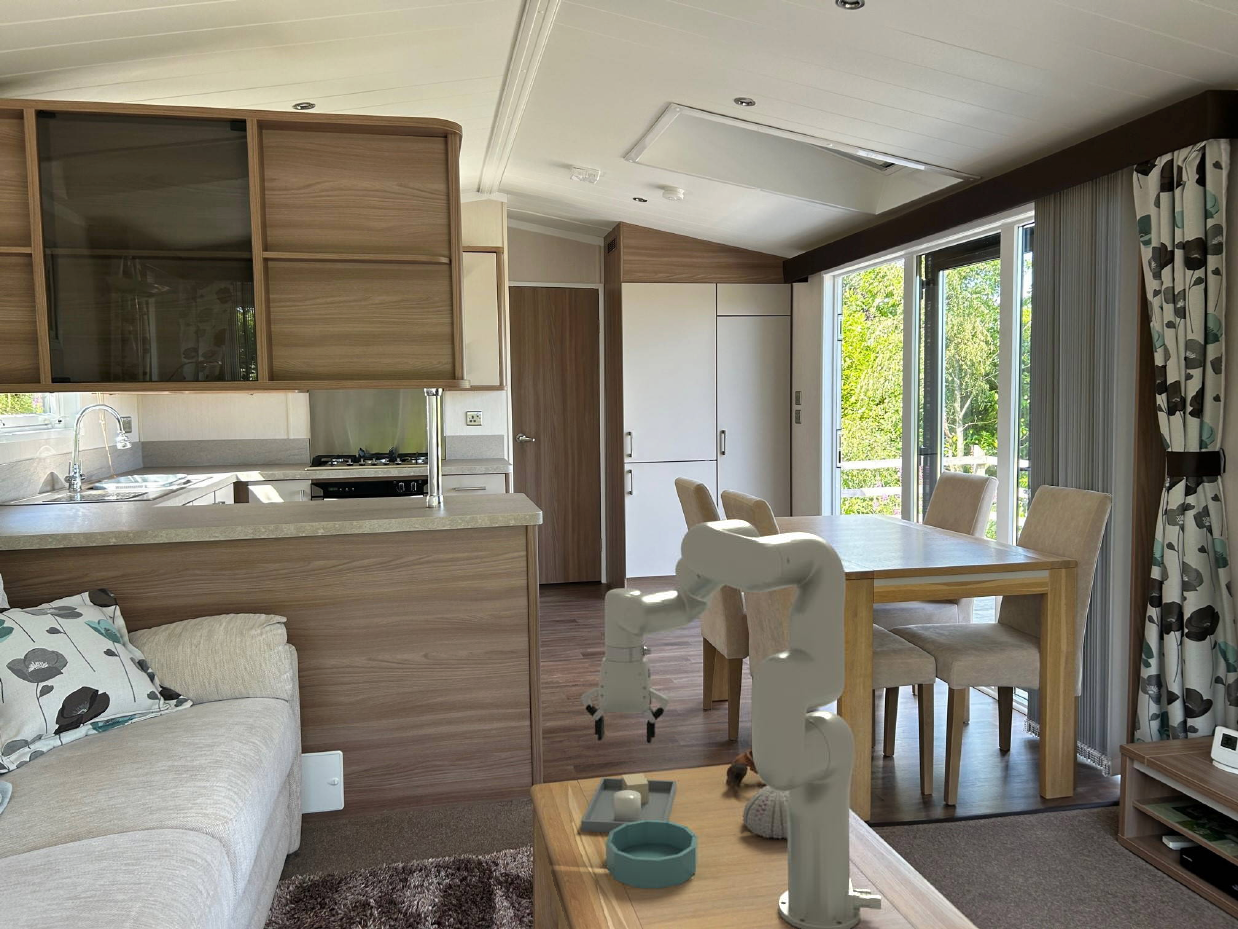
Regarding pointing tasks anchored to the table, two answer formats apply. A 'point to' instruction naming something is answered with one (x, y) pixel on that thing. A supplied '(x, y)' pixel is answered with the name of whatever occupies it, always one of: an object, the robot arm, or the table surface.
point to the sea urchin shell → (767, 813)
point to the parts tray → (602, 804)
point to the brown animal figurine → (740, 768)
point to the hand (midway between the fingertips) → (625, 739)
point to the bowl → (651, 854)
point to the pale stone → (627, 806)
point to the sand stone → (636, 785)
